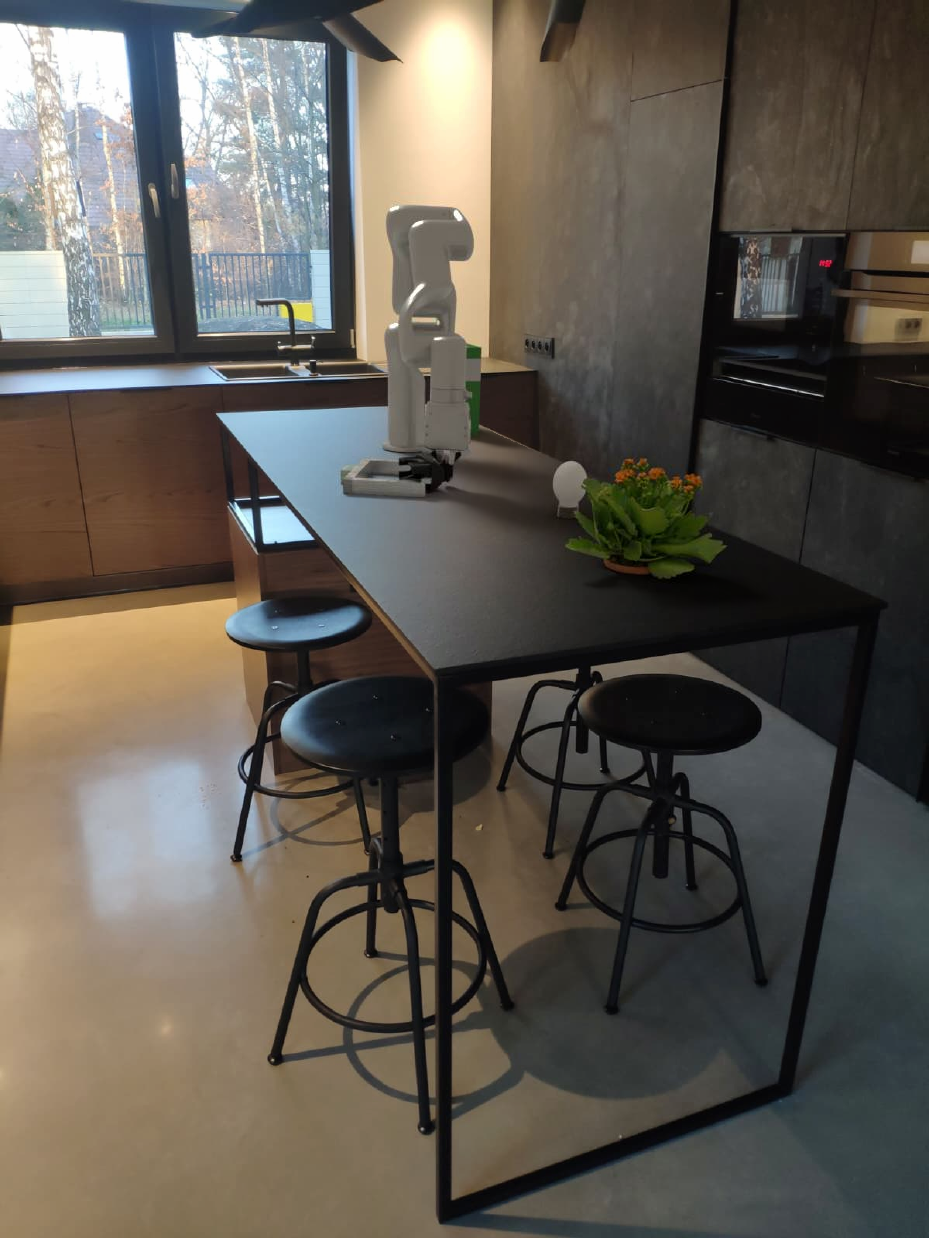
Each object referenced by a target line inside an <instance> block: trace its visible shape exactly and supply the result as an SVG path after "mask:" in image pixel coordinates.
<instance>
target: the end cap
mask: <svg viewBox="0 0 929 1238" xmlns="http://www.w3.org/2000/svg"><path fill="white" fill-rule="evenodd" d="M414 453H415V454H414V456H403V457H402V456H401V457H399V458H398V460H399V466H402V465H409V466H411V469H410V470H408V471H399V475H398V480H411V481H421V479H422V477H426V478H432V482H431V484H427V483H426V494H430V493H433V492H434V491H436V490H437V489H438V488H440V487H441V485H442V484H443V483H444V482H443V480H444V470H443V468H442V467H441V465H439V464H438V463H436V462H434V459H433V460H432V459H431V458H429V457H427V456H425V455H423V454H421V453H420V452H414Z"/></svg>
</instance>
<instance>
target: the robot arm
mask: <svg viewBox="0 0 929 1238" xmlns="http://www.w3.org/2000/svg"><path fill="white" fill-rule="evenodd" d="M472 229H473V228H472V227H471V225H470V223H469V220H468V219H467V218H466V216H465V215H464V213H462V212H461V210H460V209H459V208H457V207H453V206H442V205H441V206H440V205H439V206H434V205H419V204H418V205H417V204H399V205H395V206H393V207H390V209H389V210H388V211H387V213H386V217H385V230H386V235H387V238H388V243H389V246H390V249H391V255H392V276H391V277H392V280H391V305H392V309H393V312H394V313H395V315H397V316H398V322H397V321H396V322H393V323H392V324H389V325H388V326H387V327H386V329H385V331H384V335H383V336H384V337H383V338H384V339H383V340H384V341H383V343H384V348H385V355H386V362H387V365H386V366H387V410H388V411H387V418H388V419H387V421H388V422H387V428H388V429H387V435H388V436H387V440H385V441H383V442H382V443H381V447H382V449H383V450H387V451H391V452H396V453H397V452H398V453H400V452H401V453H421V452H422V453H423V454H425V455H428V456H432V457H433V459H436V460H437V461H438V463H439V465H441V467H442V468H443V470H444V480H443V482H442V483H450V481H451V479H453V478H454V463H455V462H457V461H458V460H459V459H460V458H462V457H467V456H470V455H471V454H472V449H471V441H472V435H471V419H470V408H469V403H467V402H465V400H466V399H468V398H472V392H469V391H467V390H466V388H465V387H466V349H467V348H466V343H467V342H466V341H467V340H465V338H463V337H462V336H461V335H460V334H459V333H458V332H457V333H456V332H455V330H456V320H457V319H456V318H457V317H456V316H457V303H458V302H457V300H458V299H457V290H456V285H455V284H454V282H453V281H452V270H451V264H450V262H467V261H469V260H470V259H471V258H472V256H473V252H474V248H475V239H474V233H473V232H474V231H473V230H472ZM413 318H415V319H416V318H418V319H420V318H422V319H423V318H424V319H427V318H428V319H435V321H413ZM420 369H430V379H429V380H430V383H429V385H430V386H429V387H430V389H429V392H430V393H429V400H428V401H427V402H426V380H425V376H424V374H423V372H422V371H421V370H420ZM444 451H449V454H448V455H449V457H448V460H447V462H446V459H445V453H444Z"/></svg>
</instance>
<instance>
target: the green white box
mask: <svg viewBox="0 0 929 1238" xmlns="http://www.w3.org/2000/svg"><path fill="white" fill-rule="evenodd" d="M466 348H467V349H466V387H465V388H466V390H467V391H469V392H472V398H468V399H466V400H465V402H467V403H469V408H470V419H471V436H480V435H479V434H480V409H481V408H480V403H481V377H482V376H481V375H482V374H481V373H482V346H477V345H474V344H471V343H468V342H466Z"/></svg>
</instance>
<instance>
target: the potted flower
mask: <svg viewBox="0 0 929 1238" xmlns="http://www.w3.org/2000/svg"><path fill="white" fill-rule="evenodd" d="M647 461H648V459H647V458H640V459H639V462H638V463H636V465H635V463H634V459H633V458H632V459H631V458H628V459H624V460H623V463H622V466H621V467H620V468H621V469H620V471H618V472H616V474H615V476H614V477H615V478H616V479H615V480H614V481H615V482H616V483H617V484H615V483H613V484H611V483H609V482H606V481H604V482H601V483H600V481H599V480H598V479H596V478H589V477H587V478H586V479H584V481H583V484H584V485H586V486H585V487H584V486H583V485H581V487H582V488H583V489H584V490H585V491H586V492H587V494H588V495H587V498H588V500H589V502H590V503H591V505H592V506H591V507H592V514H593V521H592V520H591V519H588V517H587V516H586V515H583V514H582V513H581V512H580V511H578V512H577V511H574V514H575V515H576V518H575V519H576V520H578V523H579V524H580V526H581V527H582V528H583V530H585V531H586V533H587V534H588V535H590V536H591V537H592V538H593V539H594V540H596V542H593V541H591V540H589V539H588V538H583V537H581V535H580V536H578V539H579V540H578V539H576V538H570V539H568V542H569V543H565V545H564V546H565V548H567V549H568V550H571V551H575V552H579V553H583V554H585V555H588V556H589V555H590V556H593V557H597V558H600V559H602V560H603V564H604V565H605V567H606V568H607V569H610V570H612V571H615V572H619V573H623V574H630V575H649V574H651V575H652V576H653V577H654V578H656V577H657V579H660V580H661V579H668V580H671V578H672V577H674V578H676V577H677V575H681V574H683V573H688V572H692V571H693V570H695V565H694V564H693V563H690V561H687V560H686V559H684V558H688V559H691V558H692V557H696V558H698V559H700V560H703V561H704V562H706V563H707V564H711V562H713V559H714V558H715V557H716V556H717V555H718V554H720V552H722V551H723V550H724V549H726V547H727V545H725V544H723V541H722V540H716V539H711V538H712V537H713V534H712V533H711V532H709V533H705V534H704V535H701V534H700V531H701V530H702V529H703V528H704V527H705V526H706V523H707V522H708V521H709V517H707V516H703V515H702V514H700V515H698V516H696V517H695V514H694V513H692V511H693V509H692V510H690V511H688V513H686V512H687V509H688V507H689V504H690V501H691V500H693V499H694V495H695V493H696V491H698V490H699V491H702V490H703V489H704V488H703V484H702V483H703V480H702V479H701V476H700V475H699V476H695V474H694V473H691V474H690V475H689V474H686V475H684V477H683V478H684V479H685V480H684V482H683V480H682V479H680V476H674V477H673V478H672V480H669V478H668V476H667V474H666V472H665V468H663V467H662V468H661V467H656V468H655V467H654V468H651V470H649V471H648V474H647V473H646V470H647V469H648V468H649V466H650V465H649V463H648V462H647ZM634 470H637V471H640V472H639V473H638V474H637V472H635V471H634ZM636 475H637V477H636ZM646 475H647V476H646ZM683 483H684V484H685V485H687V486H685V485H684V486H682V485H683ZM618 485H620V486H618ZM621 487H622V489H621ZM682 490H683V493H681V492H682ZM684 506H685V508H684ZM683 509H684V510H683ZM682 510H683V511H682ZM685 513H686V515H685ZM699 535H700V536H699ZM697 536H698V537H697ZM695 537H697V538H695ZM691 556H692V557H691ZM681 558H682V559H681Z"/></svg>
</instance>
